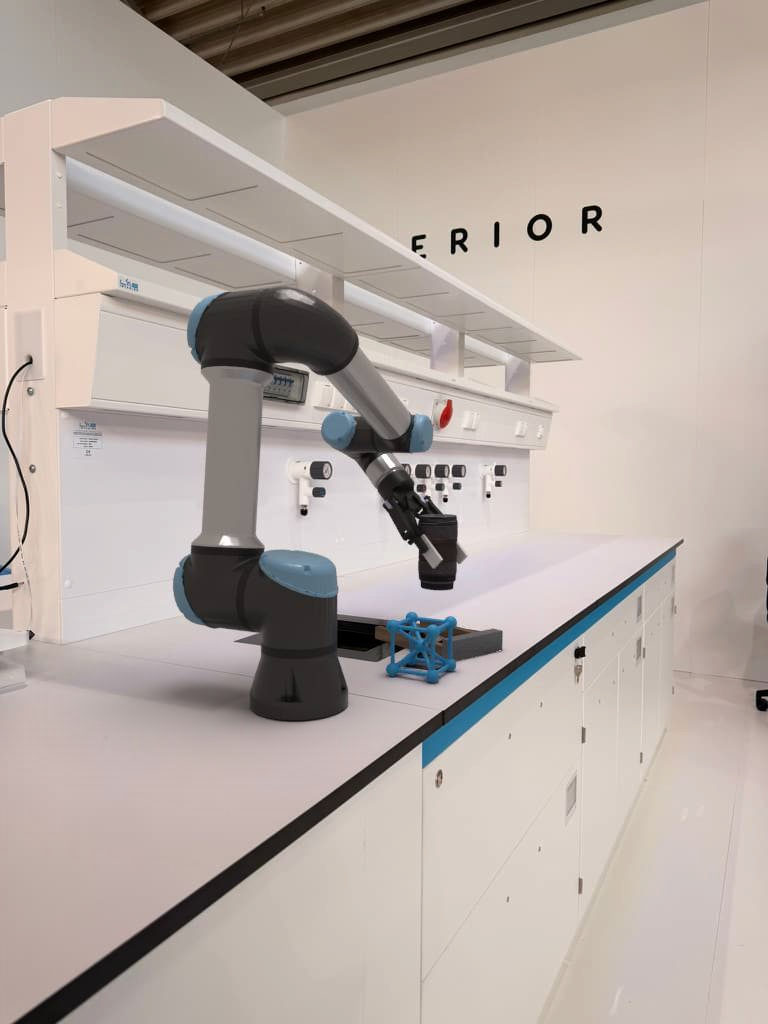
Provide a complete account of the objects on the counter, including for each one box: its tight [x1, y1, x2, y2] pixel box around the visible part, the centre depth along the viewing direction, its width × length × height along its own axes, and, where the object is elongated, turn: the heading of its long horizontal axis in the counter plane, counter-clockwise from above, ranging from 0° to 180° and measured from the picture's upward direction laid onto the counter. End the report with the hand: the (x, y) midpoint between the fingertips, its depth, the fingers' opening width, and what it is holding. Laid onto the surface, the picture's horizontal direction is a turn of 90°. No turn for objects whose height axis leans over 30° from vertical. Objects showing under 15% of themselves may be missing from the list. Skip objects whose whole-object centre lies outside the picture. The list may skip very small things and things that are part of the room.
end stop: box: [441, 628, 504, 662], centre depth 143 cm, size 14×2×4 cm, turn 129°
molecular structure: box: [385, 611, 458, 684], centre depth 130 cm, size 10×10×10 cm
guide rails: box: [374, 621, 477, 657], centre depth 152 cm, size 14×21×2 cm
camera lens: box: [417, 513, 459, 592], centre depth 150 cm, size 8×8×15 cm
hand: (450, 561), depth 148 cm, fingers closed on camera lens, 8 cm apart
